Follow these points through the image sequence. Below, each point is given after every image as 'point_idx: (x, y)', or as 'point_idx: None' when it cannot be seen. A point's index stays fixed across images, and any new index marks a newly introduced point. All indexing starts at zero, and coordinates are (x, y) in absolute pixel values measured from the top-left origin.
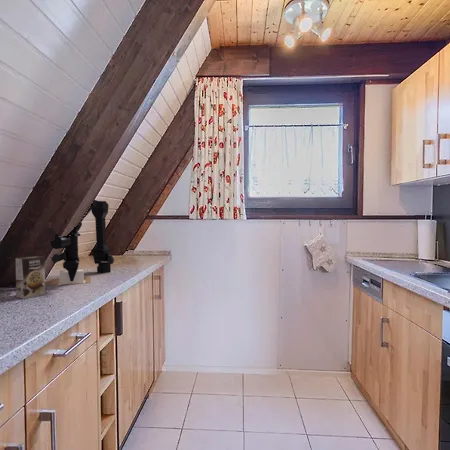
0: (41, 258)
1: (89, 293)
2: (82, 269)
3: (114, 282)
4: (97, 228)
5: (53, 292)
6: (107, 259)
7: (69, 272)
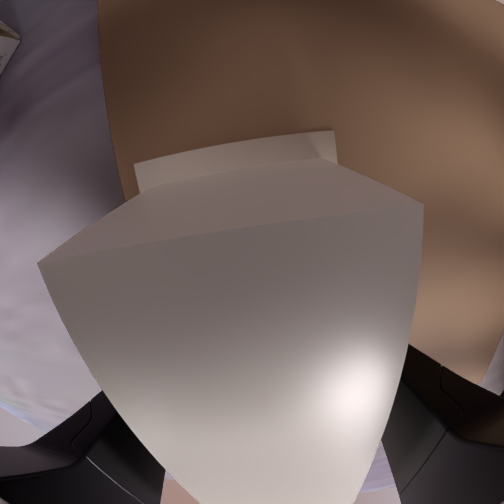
0: None
1: (39, 398)
2: (352, 501)
3: None
4: None
5: (5, 183)
6: None
7: (72, 438)
